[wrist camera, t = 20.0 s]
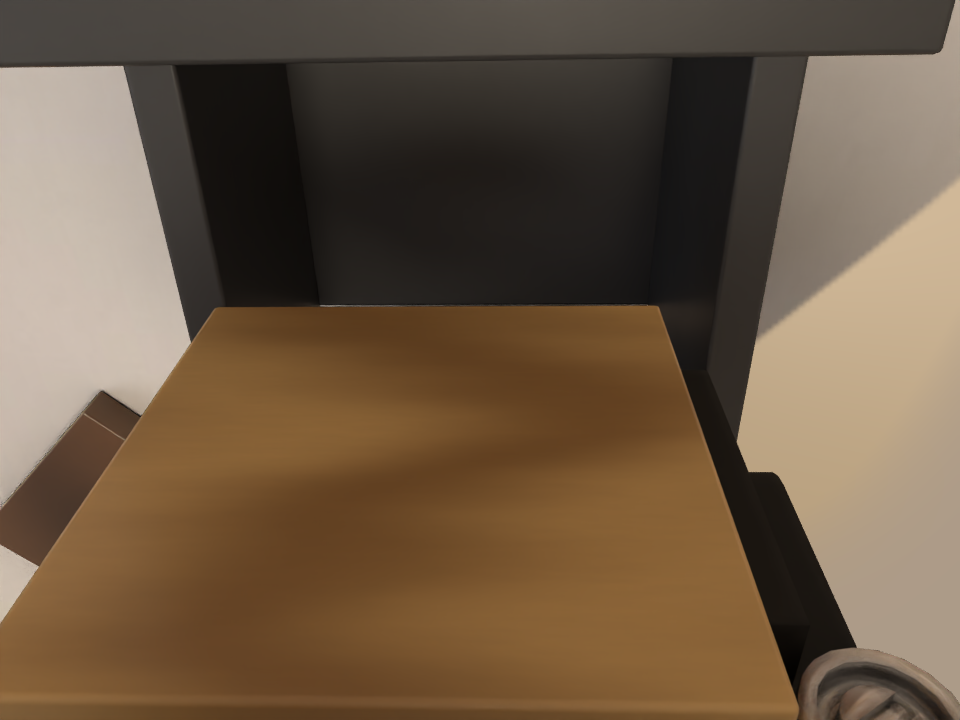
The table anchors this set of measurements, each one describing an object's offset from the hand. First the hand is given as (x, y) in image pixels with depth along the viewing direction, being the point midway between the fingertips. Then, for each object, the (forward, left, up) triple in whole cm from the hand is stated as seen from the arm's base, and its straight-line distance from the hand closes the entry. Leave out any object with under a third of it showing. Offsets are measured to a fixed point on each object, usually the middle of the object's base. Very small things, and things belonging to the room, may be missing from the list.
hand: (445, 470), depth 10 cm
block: (0, 0, 0) cm, 0 cm away
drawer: (0, +2, -11) cm, 11 cm away
